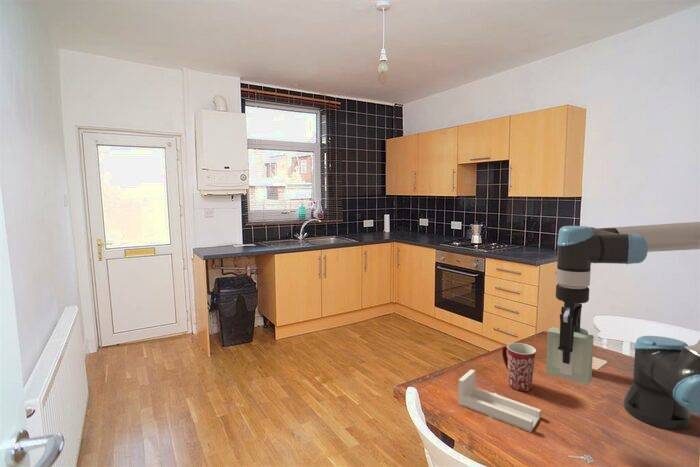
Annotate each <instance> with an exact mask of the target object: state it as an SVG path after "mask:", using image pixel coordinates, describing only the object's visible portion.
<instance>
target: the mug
mask: <svg viewBox="0 0 700 467" xmlns="http://www.w3.org/2000/svg"><path fill="white" fill-rule="evenodd" d="M536 353H537V349H536V348H535V347H534V346H532V345H529V344H527V343H523V342H522V343H521V342H512V343H511V342H510V343H508V344H507V345H504V346H503V347H502V351H501V354H502V359H503V362H504V365H505V368H506V370H507V384H508V386H509V388H512V389H513V390H515V391H519V392H520V391H521V392H529V391H530V390H531V389H532V386H533V376H534V370H535V369H534V367H535V358H536Z"/></svg>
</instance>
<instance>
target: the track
mask: <svg viewBox="0 0 700 467" xmlns="http://www.w3.org/2000/svg"><path fill="white" fill-rule="evenodd" d="M457 390H458V393H457V396H458V397H457V398H458V399H457V404H458V405H461V406H463V407H465V408H468V409H471V410H473V411H475V412H478V413H481V414H483V415H486V416H488V417H490V418H493V419H496V420H498V421H501V422H503V423H506V424H508V425H510V426H513V427H516V428H518V429H521V430H524V431H526V432H529V433H532V432H533V430H534V429H535V427H536V426H537V424H538V422H539V421H540V419H541V418H542V416H541V414H542V413H541V412H542V410H541V409H540V408H537V407H534V406H532V405H528V404H525V403H522V402H520V401H517V400H513V399H511V398H508V397H505V396H503V395H499V394H498V393H497V394H496V393H494V392H491V391H489V390H486V389H482V388H479V387H477V386H476V370H474V369H469V370H468V371H467V372H466V373H465V374H464V375H462V376H461V377H460V378H459V379H458V389H457Z"/></svg>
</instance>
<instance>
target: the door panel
mask: <svg viewBox="0 0 700 467" xmlns="http://www.w3.org/2000/svg"><path fill="white" fill-rule="evenodd" d="M594 338H595V337H594V335H592V334H589V333H588V334H584V333H579V332H574V338H573V351H574V353H573V374H572V376H570V375H567V374H563V373H560V366H561V350H559V349H558V347H559V343H560V328H558V327H554V326H551V327H550V328H548V330H547V333H546V357H545V363H546V364H545V374H547V375H550V376H554V377H556V378H562V379H564V380H565V379H566V380H568V381H572V382H576V383H578V384H583V385H586V386H589V385H590V383H591V381H592V374H593V373H592V372H593V354H594Z"/></svg>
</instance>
